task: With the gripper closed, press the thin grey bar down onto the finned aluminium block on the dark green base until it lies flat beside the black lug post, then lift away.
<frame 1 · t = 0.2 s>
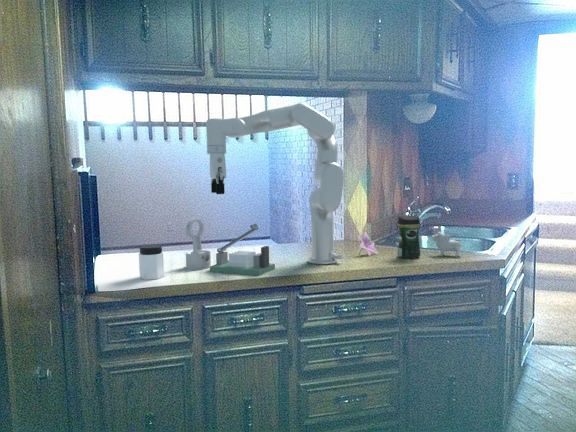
hand: (217, 193, 215), 31 cm above the countertop, tool pointing down, fingers open, 9 cm apart
jar: (152, 278, 204), on the countertop
thin grey bar: (237, 238, 215), point 13 cm above the countertop, hinge at 30.0°
engine component: (197, 268, 222), on the countertop
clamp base: (242, 270, 215), on the countertop
lily: (366, 255, 245), on the countertop
dog figurine: (446, 255, 241), on the countertop
coffee jar: (408, 257, 238), on the countertop
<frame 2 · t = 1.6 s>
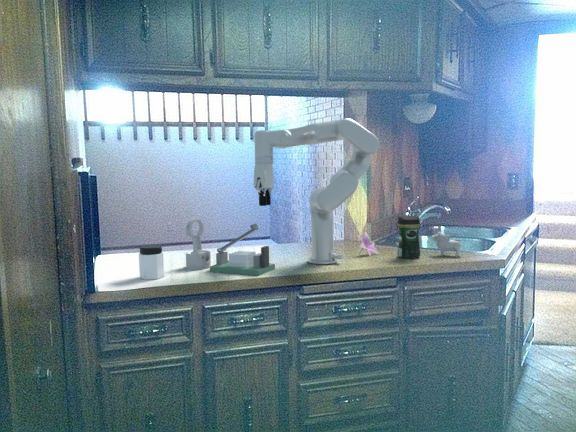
hand: (264, 204, 223), 25 cm above the countertop, tool pointing down, fingers open, 3 cm apart
nothing on the countertop moved.
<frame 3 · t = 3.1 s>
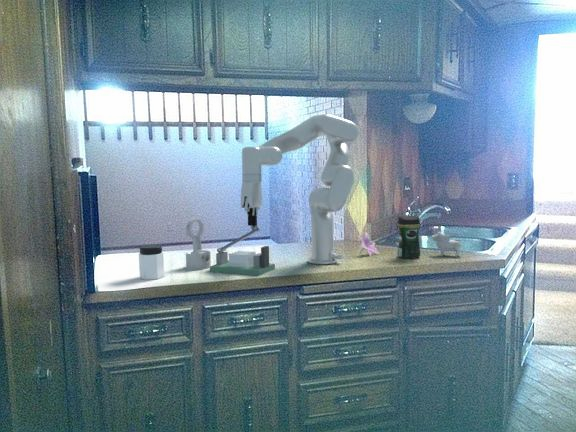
hand: (252, 225, 211), 18 cm above the countertop, tool pointing down, fingers closed
thin grey bar: (237, 239, 215), point 12 cm above the countertop, hinge at 28.1°, touching gripper
everything else where it was.
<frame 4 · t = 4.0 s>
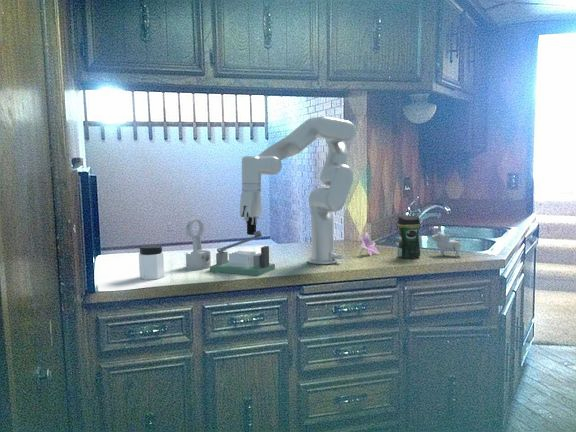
hand: (251, 234, 211), 15 cm above the countertop, tool pointing down, fingers closed
thin grey bar: (238, 241, 215), point 11 cm above the countertop, hinge at 20.2°, touching gripper
everything else where it was.
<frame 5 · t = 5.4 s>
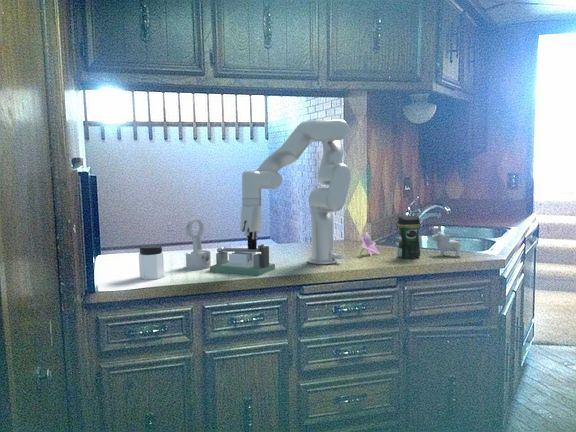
hand: (252, 248, 212), 9 cm above the countertop, tool pointing down, fingers closed
thin grey bar: (240, 248, 215), point 9 cm above the countertop, hinge at 2.5°, touching gripper
everything else where it was.
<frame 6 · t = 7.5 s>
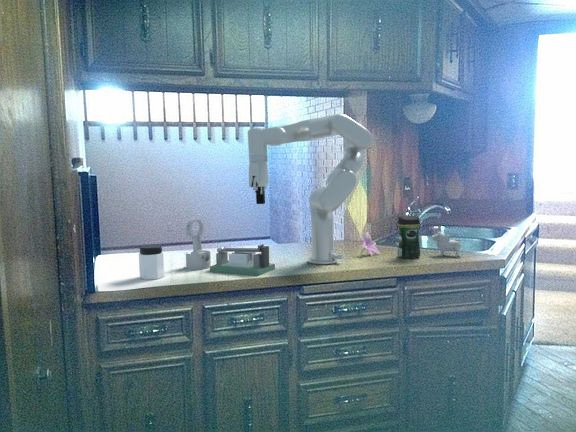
hand: (260, 203, 220), 26 cm above the countertop, tool pointing down, fingers closed
thin grey bar: (240, 248, 215), point 9 cm above the countertop, hinge at 2.4°
everything else where it was.
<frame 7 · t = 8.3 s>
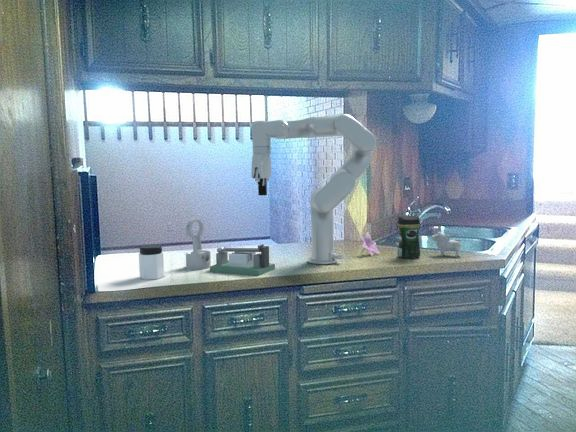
hand: (262, 195, 225), 29 cm above the countertop, tool pointing down, fingers closed
nothing on the countertop moved.
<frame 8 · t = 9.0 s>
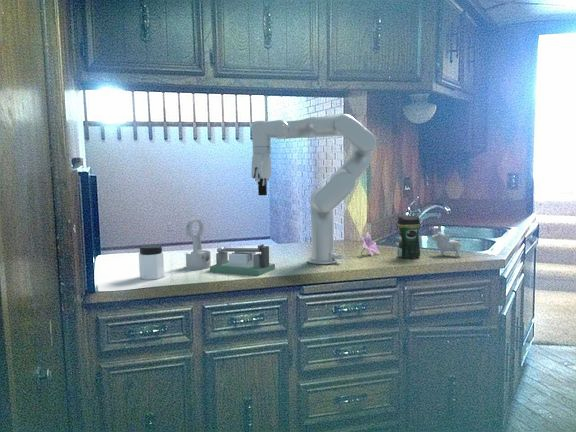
hand: (262, 195, 225), 29 cm above the countertop, tool pointing down, fingers closed
nothing on the countertop moved.
at the end: thin grey bar at +2° (first picture: +30°) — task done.
